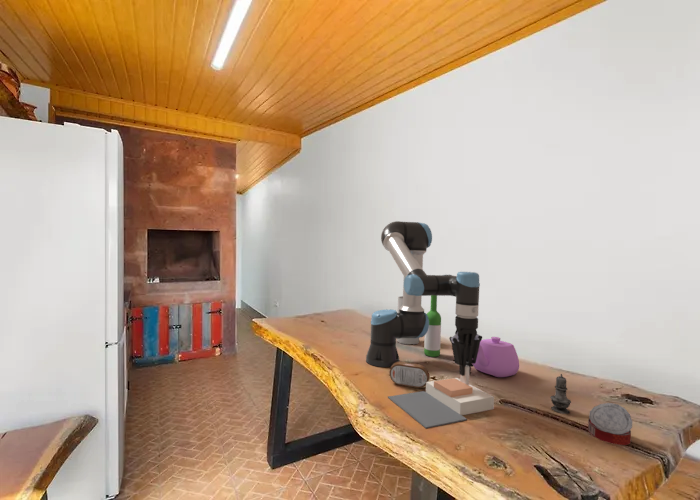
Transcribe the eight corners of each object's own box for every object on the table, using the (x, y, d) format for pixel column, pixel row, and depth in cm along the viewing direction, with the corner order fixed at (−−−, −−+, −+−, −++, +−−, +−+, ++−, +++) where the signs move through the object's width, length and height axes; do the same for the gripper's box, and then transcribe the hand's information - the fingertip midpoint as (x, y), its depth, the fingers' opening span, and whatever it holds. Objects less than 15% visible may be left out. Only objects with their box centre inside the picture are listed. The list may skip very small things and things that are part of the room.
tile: (433, 386, 120) (433, 381, 120) (454, 383, 124) (454, 378, 124) (451, 397, 112) (451, 391, 112) (472, 393, 116) (472, 387, 116)
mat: (387, 397, 120) (387, 396, 120) (424, 392, 126) (424, 390, 126) (425, 428, 99) (425, 427, 99) (466, 420, 105) (466, 418, 105)
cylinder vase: (405, 338, 204) (407, 295, 204) (423, 342, 195) (425, 298, 195) (392, 341, 196) (393, 297, 196) (409, 346, 187) (411, 299, 187)
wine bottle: (439, 353, 175) (441, 294, 175) (440, 358, 167) (442, 296, 167) (423, 352, 176) (425, 293, 176) (424, 356, 169) (426, 295, 169)
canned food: (631, 457, 97) (650, 435, 92) (597, 454, 96) (615, 431, 91) (604, 421, 107) (621, 399, 102) (573, 417, 106) (589, 395, 101)
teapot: (481, 361, 165) (482, 329, 165) (524, 375, 147) (526, 339, 147) (449, 368, 152) (450, 334, 152) (492, 385, 135) (493, 346, 135)
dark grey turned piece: (570, 416, 110) (572, 378, 111) (549, 411, 114) (550, 374, 114) (570, 409, 115) (571, 373, 116) (550, 404, 119) (551, 369, 119)
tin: (429, 387, 130) (430, 365, 130) (428, 390, 127) (429, 367, 127) (390, 381, 135) (390, 359, 135) (388, 384, 132) (389, 362, 132)
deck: (425, 393, 125) (426, 382, 125) (456, 388, 130) (456, 377, 130) (460, 415, 108) (460, 402, 108) (493, 409, 114) (494, 396, 114)
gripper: (459, 319, 114) (457, 390, 114) (489, 317, 119) (486, 385, 119) (444, 315, 121) (442, 382, 121) (473, 313, 126) (471, 378, 126)
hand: (464, 384), depth 120 cm, fingers closed
